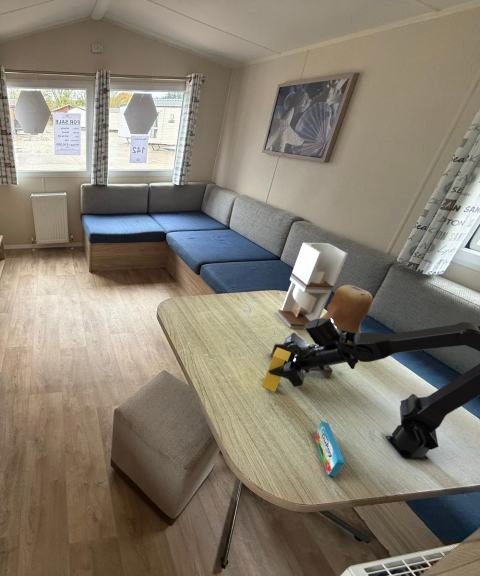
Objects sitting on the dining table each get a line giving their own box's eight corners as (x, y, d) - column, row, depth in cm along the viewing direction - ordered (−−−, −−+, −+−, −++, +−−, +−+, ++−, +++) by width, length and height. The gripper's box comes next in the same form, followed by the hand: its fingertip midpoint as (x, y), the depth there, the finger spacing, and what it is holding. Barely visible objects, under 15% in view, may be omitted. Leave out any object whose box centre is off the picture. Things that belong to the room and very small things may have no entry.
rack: (329, 378, 107) (336, 365, 104) (282, 374, 108) (287, 361, 105) (313, 358, 116) (319, 346, 113) (270, 356, 117) (274, 343, 114)
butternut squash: (347, 338, 128) (375, 285, 116) (356, 357, 117) (387, 301, 105) (309, 329, 133) (331, 277, 121) (314, 347, 122) (339, 292, 110)
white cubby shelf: (277, 313, 144) (303, 242, 127) (300, 314, 144) (329, 243, 127) (289, 327, 134) (319, 252, 117) (314, 328, 133) (347, 253, 117)
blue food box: (334, 477, 76) (344, 462, 74) (328, 475, 77) (337, 460, 74) (319, 436, 87) (327, 421, 84) (313, 435, 87) (321, 420, 84)
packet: (278, 382, 103) (291, 352, 97) (274, 392, 100) (287, 361, 93) (265, 377, 106) (277, 347, 99) (261, 386, 102) (273, 355, 96)
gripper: (313, 318, 96) (264, 333, 107) (302, 347, 83) (249, 360, 94) (333, 349, 95) (283, 360, 107) (326, 383, 82) (269, 392, 94)
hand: (271, 367), depth 100 cm, fingers closed on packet, 5 cm apart
